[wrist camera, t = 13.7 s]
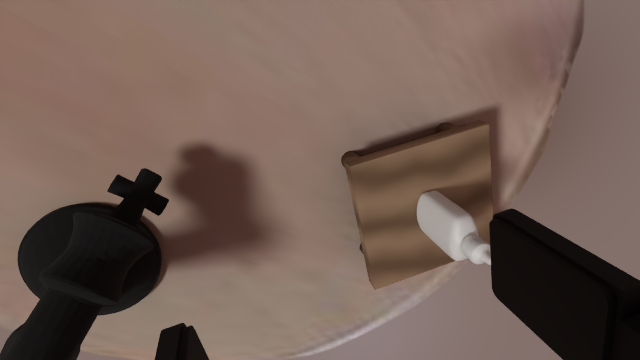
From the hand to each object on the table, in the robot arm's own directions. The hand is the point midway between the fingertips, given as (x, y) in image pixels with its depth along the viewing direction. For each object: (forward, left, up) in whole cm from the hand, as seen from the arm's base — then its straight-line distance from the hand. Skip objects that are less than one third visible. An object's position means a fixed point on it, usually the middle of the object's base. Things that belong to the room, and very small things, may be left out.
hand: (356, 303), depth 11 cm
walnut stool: (+17, +17, -36) cm, 44 cm away
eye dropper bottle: (+17, +17, -30) cm, 38 cm away
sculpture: (+10, -21, -37) cm, 43 cm away
